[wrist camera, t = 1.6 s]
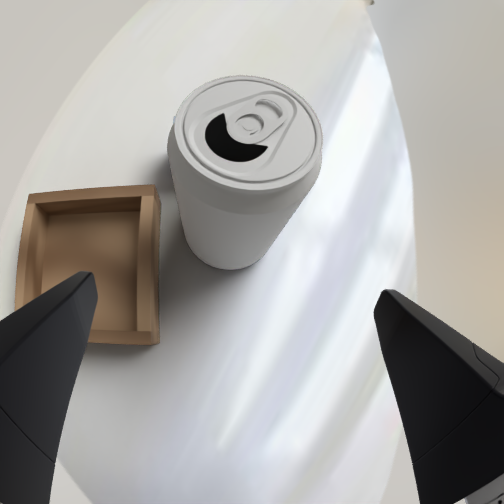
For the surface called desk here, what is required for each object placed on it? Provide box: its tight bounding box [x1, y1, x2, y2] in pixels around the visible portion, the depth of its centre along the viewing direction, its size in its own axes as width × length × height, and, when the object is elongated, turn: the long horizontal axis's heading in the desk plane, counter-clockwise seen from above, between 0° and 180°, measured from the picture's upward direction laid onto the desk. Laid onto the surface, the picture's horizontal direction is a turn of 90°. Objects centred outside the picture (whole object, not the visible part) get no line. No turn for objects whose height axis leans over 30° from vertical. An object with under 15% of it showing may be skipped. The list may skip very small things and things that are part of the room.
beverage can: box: [167, 75, 323, 270], centre depth 16 cm, size 6×6×12 cm
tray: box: [15, 185, 161, 345], centre depth 18 cm, size 10×10×3 cm
